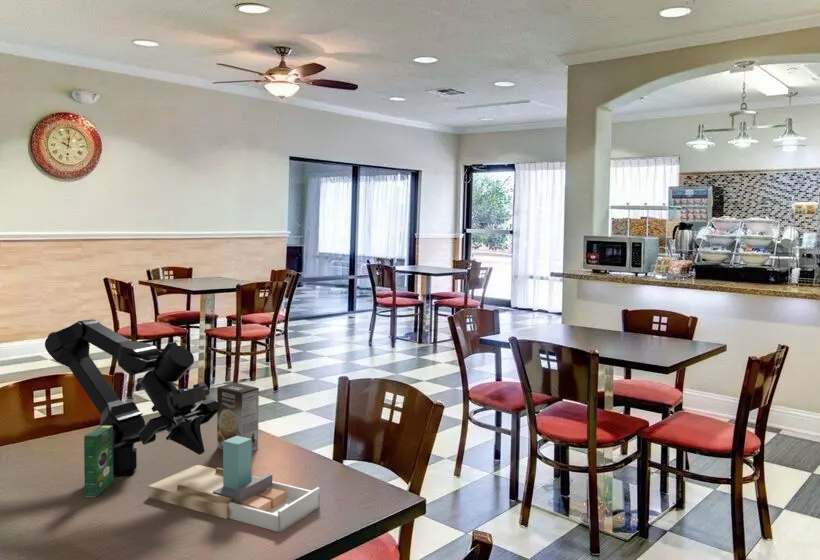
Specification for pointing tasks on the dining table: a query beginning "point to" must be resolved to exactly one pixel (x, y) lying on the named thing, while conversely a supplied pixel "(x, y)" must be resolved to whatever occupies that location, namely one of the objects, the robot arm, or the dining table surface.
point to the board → (194, 490)
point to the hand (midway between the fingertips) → (202, 453)
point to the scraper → (240, 471)
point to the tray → (279, 509)
